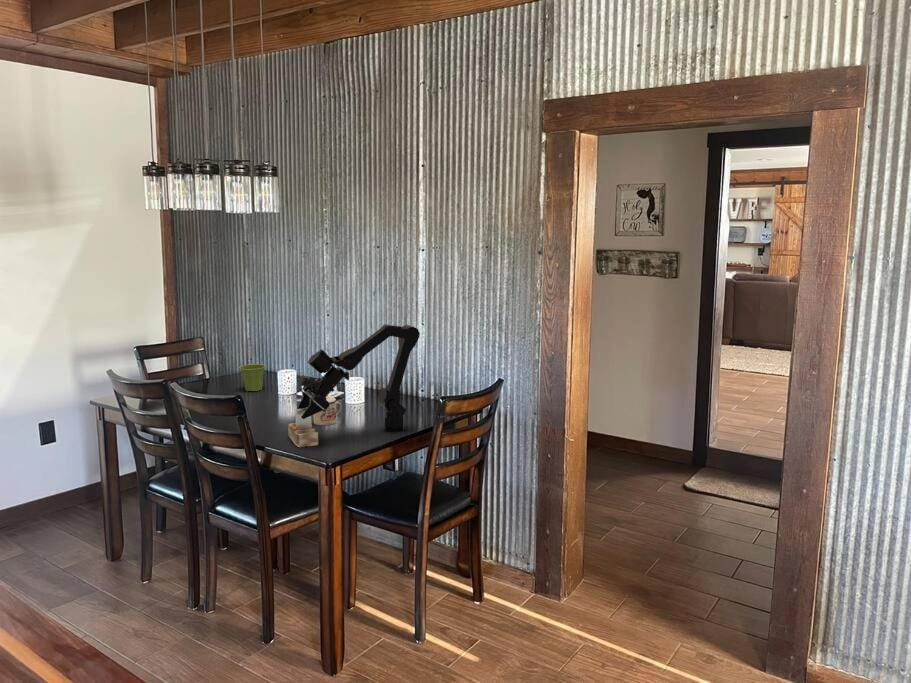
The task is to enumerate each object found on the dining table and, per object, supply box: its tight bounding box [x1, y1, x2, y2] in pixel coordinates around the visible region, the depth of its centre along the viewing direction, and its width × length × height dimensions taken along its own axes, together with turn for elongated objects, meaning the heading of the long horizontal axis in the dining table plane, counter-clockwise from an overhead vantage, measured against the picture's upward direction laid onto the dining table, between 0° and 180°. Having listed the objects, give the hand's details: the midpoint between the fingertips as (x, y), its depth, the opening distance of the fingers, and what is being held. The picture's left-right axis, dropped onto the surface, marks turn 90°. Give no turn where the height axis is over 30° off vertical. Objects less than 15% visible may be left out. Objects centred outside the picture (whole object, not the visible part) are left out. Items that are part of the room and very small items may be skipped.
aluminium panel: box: [294, 408, 313, 430], centre depth 255 cm, size 5×2×10 cm, turn 114°
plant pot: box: [238, 363, 267, 392], centre depth 333 cm, size 12×12×11 cm
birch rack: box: [287, 422, 319, 448], centre depth 256 cm, size 7×15×5 cm, turn 24°
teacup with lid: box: [312, 395, 342, 426], centre depth 279 cm, size 12×9×12 cm
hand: (299, 415), depth 254 cm, fingers open, 9 cm apart
